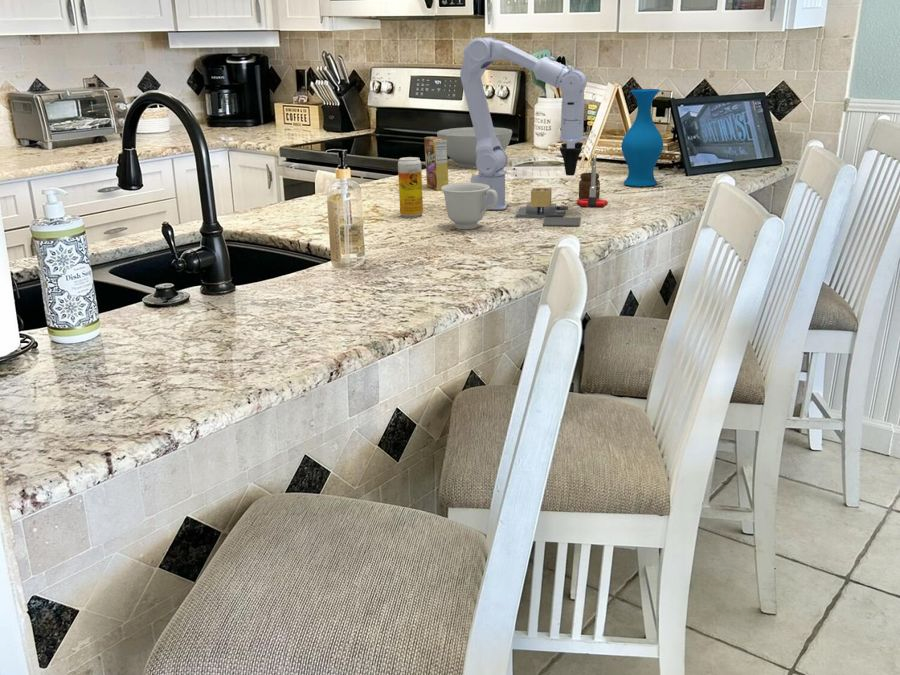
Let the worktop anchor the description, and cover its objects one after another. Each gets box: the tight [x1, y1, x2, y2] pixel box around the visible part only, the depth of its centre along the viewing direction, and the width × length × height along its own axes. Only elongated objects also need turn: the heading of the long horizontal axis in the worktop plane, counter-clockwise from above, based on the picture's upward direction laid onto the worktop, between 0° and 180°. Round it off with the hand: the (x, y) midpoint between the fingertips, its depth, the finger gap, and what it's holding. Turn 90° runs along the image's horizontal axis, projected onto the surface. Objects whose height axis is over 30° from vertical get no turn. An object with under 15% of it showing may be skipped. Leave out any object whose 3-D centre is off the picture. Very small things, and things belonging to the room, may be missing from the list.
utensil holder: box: [578, 154, 601, 200], centre depth 238 cm, size 6×6×12 cm
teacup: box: [441, 182, 498, 230], centre depth 207 cm, size 12×15×10 cm
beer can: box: [397, 156, 424, 219], centre depth 221 cm, size 6×6×15 cm
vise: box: [515, 202, 569, 219], centre depth 220 cm, size 13×10×6 cm
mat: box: [542, 216, 582, 228], centre depth 211 cm, size 9×9×1 cm
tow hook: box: [576, 157, 609, 208], centre depth 230 cm, size 8×13×9 cm
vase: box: [621, 88, 664, 188], centre depth 253 cm, size 12×13×28 cm
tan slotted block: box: [530, 187, 553, 207], centre depth 220 cm, size 5×5×4 cm
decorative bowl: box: [436, 126, 513, 169], centre depth 301 cm, size 27×27×12 cm
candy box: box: [423, 136, 449, 192], centre depth 259 cm, size 9×4×15 cm, turn 23°
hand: (570, 172), depth 221 cm, fingers open, 7 cm apart
